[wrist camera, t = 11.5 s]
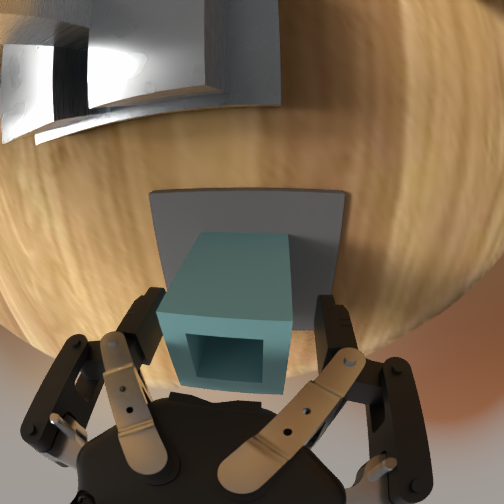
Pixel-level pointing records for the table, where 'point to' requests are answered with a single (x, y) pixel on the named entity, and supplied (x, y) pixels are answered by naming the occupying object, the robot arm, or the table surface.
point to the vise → (132, 61)
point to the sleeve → (231, 313)
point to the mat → (257, 231)
